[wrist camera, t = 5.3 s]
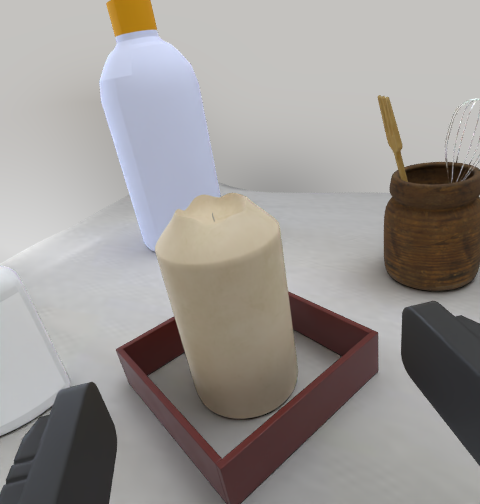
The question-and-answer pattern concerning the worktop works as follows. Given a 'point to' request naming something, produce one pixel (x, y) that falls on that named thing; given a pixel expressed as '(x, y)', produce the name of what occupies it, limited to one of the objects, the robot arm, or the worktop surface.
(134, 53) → the soap bottle
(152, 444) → the worktop surface
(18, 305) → the eye dropper bottle
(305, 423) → the dark red square frame
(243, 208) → the candle
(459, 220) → the utensil holder
